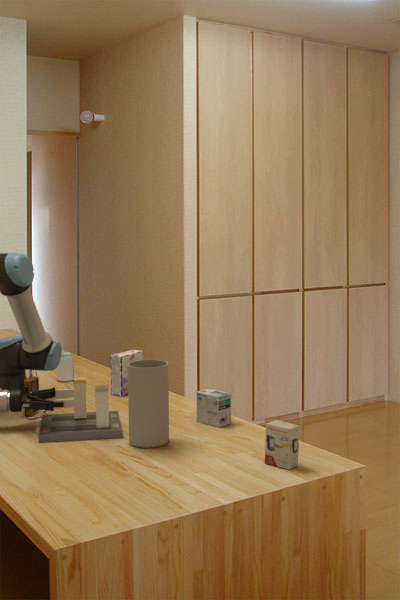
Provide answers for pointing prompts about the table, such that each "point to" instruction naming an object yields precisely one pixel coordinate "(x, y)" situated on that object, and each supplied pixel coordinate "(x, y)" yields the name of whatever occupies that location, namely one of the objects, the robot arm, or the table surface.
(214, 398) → the light bulb box
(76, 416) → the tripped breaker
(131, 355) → the candy box
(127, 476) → the table surface
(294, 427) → the ink box
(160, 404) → the cylinder vase
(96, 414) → the dual slider panel
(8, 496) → the table surface
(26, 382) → the multimeter
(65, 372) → the can
